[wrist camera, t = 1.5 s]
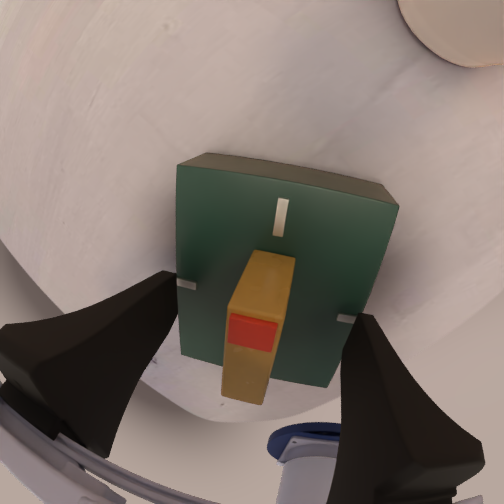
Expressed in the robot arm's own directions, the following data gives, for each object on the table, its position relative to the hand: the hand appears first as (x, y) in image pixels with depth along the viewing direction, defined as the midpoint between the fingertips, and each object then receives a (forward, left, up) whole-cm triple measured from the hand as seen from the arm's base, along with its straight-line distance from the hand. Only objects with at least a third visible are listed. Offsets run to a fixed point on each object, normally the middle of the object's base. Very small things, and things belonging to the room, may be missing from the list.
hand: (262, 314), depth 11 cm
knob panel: (0, 0, -4) cm, 4 cm away
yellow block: (0, 0, -1) cm, 1 cm away
